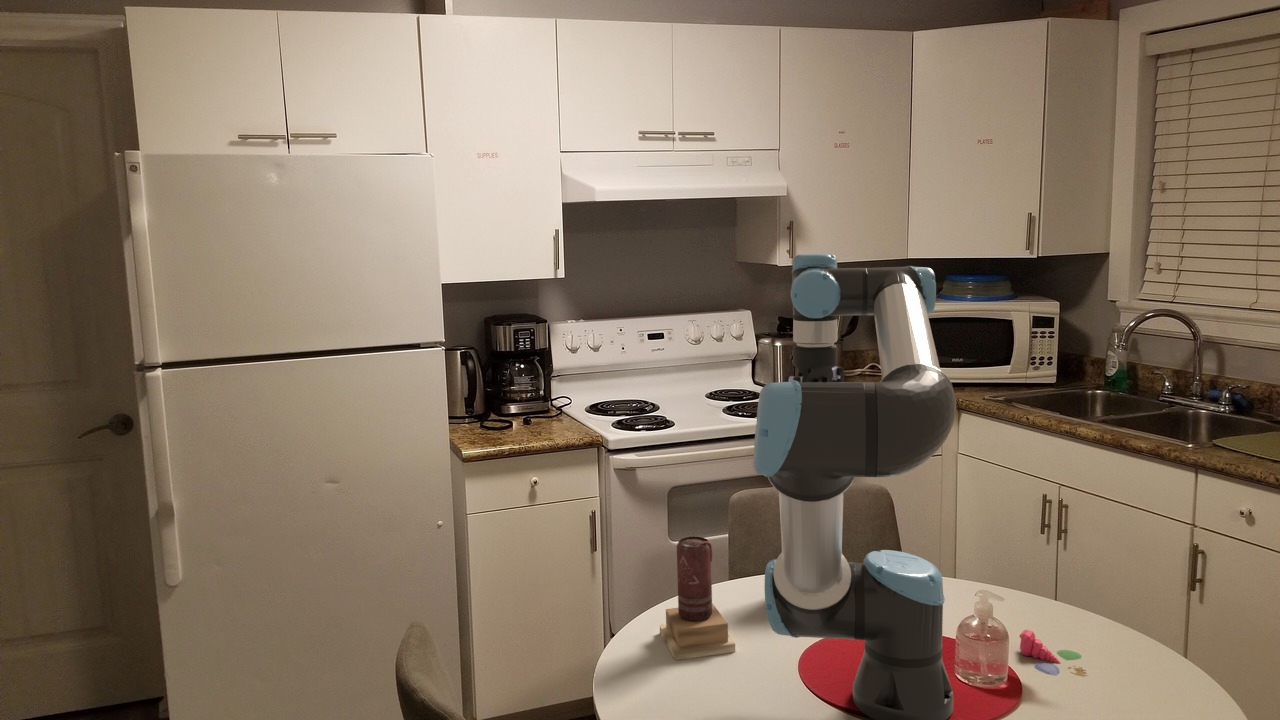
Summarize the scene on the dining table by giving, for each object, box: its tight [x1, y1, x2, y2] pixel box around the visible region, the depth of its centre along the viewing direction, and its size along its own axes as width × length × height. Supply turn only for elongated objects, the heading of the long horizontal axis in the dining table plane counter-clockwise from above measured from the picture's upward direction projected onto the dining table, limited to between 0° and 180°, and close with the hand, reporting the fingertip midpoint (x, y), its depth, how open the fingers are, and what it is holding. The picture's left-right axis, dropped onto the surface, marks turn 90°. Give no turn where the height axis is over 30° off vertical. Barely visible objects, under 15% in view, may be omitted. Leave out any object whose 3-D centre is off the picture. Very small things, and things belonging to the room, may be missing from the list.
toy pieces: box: [1018, 629, 1089, 678], centre depth 154 cm, size 12×11×4 cm
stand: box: [659, 602, 736, 661], centre depth 166 cm, size 11×11×5 cm
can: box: [676, 536, 713, 622], centre depth 165 cm, size 6×6×14 cm
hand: (815, 463), depth 161 cm, fingers open, 13 cm apart
